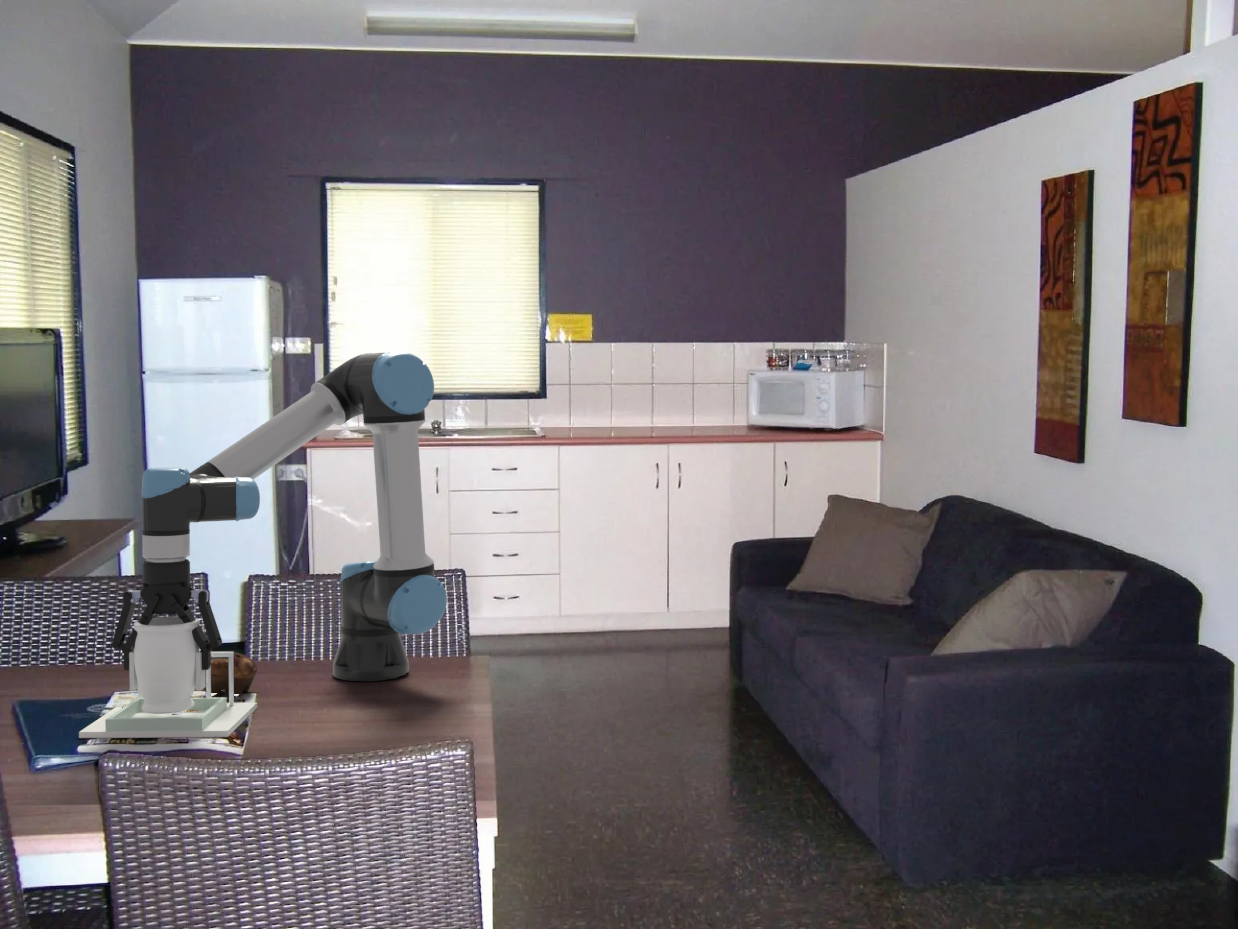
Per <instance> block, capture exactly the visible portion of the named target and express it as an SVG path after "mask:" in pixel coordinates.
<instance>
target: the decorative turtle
mask: <svg viewBox="0 0 1238 929" xmlns="http://www.w3.org/2000/svg"><path fill="white" fill-rule="evenodd" d="M257 671H258V665H257V663H256V661H255V660H254V659H253V658H251V657H249V656H248V655H246V654H243V653H240V652H234V656H233V674H234V694H240V695H242V693H247V692H248V691H249V690H250V688H251V687H252V683H253V681H254V679H255V677H256V673H257ZM203 689H204V690H203V691H204V693H205V692H206V670H205V688H203ZM221 690H223V691H226V692H227V693H229V657H212V658H211V693H217V694H219V693H221V692H222V691H221ZM220 691H221V692H220Z"/></svg>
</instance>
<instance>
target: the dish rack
mask: <svg viewBox="0 0 1238 929" xmlns="http://www.w3.org/2000/svg"><path fill="white" fill-rule="evenodd" d="M234 653H235V651H211V658H214V657H229V692H228V697H227V696H225V697H222V696H221V697H219V696H217V697H215V696H214V697H211V666H210V668H209V669H208V670H206V693H205V697H191V699H192V700H193V701H194V706H193V707H192V708H190V709H188V710H198V711H195V712H194V711H191V712H186V713H175V714H186V715H175V716H174V715H172V714H174V713H168V714H152V713H146V712H144V711H142V709H141V707H142V705H143V703H144V701H145V700H144V699H143V697H142V695H141V693H140V691H139V688H138V689H137V697H136V698H135V699H133V700H132V701H130V702H128V703H129V704H127V705H126V706H124V707H123V708H122V707H117V706H116V707H114V708H113V709H111V710H109V711H108V712H107V713H105V714H104V715H102V716H100V717H99V718H98V719H97V720H95V721H93V722H92V723H90V724H88V725H87V726H86V727H84V728H83V729H81V730H80V731H79V732H78V739H107V738H108V739H118V738H119V739H120V738H121V739H123V738H124V739H125V738H128V739H129V738H133V739H134V738H135V739H137V738H138V739H139V738H140V739H141V738H228V737H229V736H230V735H232V733H233V732H234V731H235V730H237V729H238V727H240V725H242V724H243V723H244V722H245V721H247V719H248V718H249V717H250V716H251V715H252V714H253V713H254V711H256V710H257V709H258V702H235V697H234V674H233V656H234ZM227 700H228V702H227Z"/></svg>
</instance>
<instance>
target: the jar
mask: <svg viewBox="0 0 1238 929" xmlns="http://www.w3.org/2000/svg"><path fill="white" fill-rule="evenodd" d="M195 619H196V620H195V621H193V622H189V623H183V621H182V620H181V619H180V618H179V617H178V616H159V617H153V618H152V619H151V621H150V623H149V624H148V625H143V624H140V623H139V622H138V621H139V620H137V621H135V622H134V623H133V629H135V630H136V631H137V637H136V641H135V648H134V665H135V671H136V675H137V682H138V687H139V691H140V693H141V695H142V698H143V699H144V700H145V701H144V703H143V705H142V707H141V709H142V711H144V712H146V713H152V714H168V713H176V712H181V711H185V710H188V709H190V708H192V707H193V706H194V701H193V700H192V699H191V698H192V695H193V694H194V692H195V691H196V652H198V651H199V650H200V648H199V647H198V645H197V643H196V642H195V640H194V638H193V635H192V630H193V629H194V628H195V627H198V626H199V625H200V619H199V618H197V617H195Z"/></svg>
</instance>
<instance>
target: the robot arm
mask: <svg viewBox="0 0 1238 929" xmlns="http://www.w3.org/2000/svg"><path fill="white" fill-rule="evenodd" d="M434 381H435V380H434V378H433V374H432V371H431V370H430V368H429V367H428V365H427V364H426V362H424V361H423V360H422V359H421V358H419V357H418V356H417V355H415V354H412V353H409V352H404V351H403V352H402V351H395V350H393V351H388V352H375V353H374V352H373V353H370V352H369V353H362V354H358V355H356V356H354V357H352V358H350V359H348V360H346V361H345V362H343V363H342V364H340V365H339V366H337V367H336V368H335V369H332V370H331V371H330V372H329V373H327V374H326V375H325V376H323V377H321V378H320V379H318V380H317V381H315V382H314V383H313V384H312V385H311V387H310V391H309V393H307V394H306V395H304V396H303V397H301V398H299V399H298V400H297V401H295V402H294V403H292V404H291V405H290V406H288V407H286V408H285V409H283V410H282V411H280V412H279V413H277V414H276V415H274V416H272V418H270V419H269V420H267V421H266V422H264V423H263V424H261V425H260V426H259V427H257V428H256V429H254V430H252V431H251V432H250V433H248V434H246V435H245V436H244V437H242V438H240V439H239V440H237V441H236V442H235V443H233V444H232V445H230V446H229V447H227V448H226V449H224V450H223V451H221V452H220V453H218V454H216V455H215V456H213V457H212V458H211V459H210V460H209V459H208V461H206V462H205V463H204V464H201V465H200V466H199V467H197V468H195V469H194V470H192V471H191V472H190V471H189V470H188V468H185V467H153V468H152V467H151V468H147V469H146V470H144V472H143V474H142V478H141V479H142V480H141V494H140V498H141V516H142V519H141V520H142V522H141V523H142V534H141V535H142V540H141V541H142V542H141V543H142V544H141V545H142V558H144V559H146V560H144V561H143V562H142V588H141V589H140V590H134V589H133V588H132V589H129V590H125V591H124V592H123V594H122V599H123V600H122V601H123V606H122V610H121V612H120V616H119V619H118V623H117V626H116V628H115V632H114V635H113V638H112V642H111V647H112V648H113V649H118V650H121V651H122V652H123V670H125V671H129V675H128V676H129V691H130V692H135V691H136V690H138V688H139V687H138V682H137V675H136V671H135V665H134V648H135V641H136V637H137V631H136V630H135V629H134V628H133V629H132V631H131V633H130V635H129V636H128V638H127V639H126V637H127V635H128V631H129V628H130V624H131V621H132V618H133V615H134V611H135V608H136V604H137V603H138V602H139V601H140V598H141V599H142V600H143V603H145V604H146V607H145V609H144V610H143V612H142V614H141V615H140V616H141V617H140V618H139V620H137V621H138V622H139V623H140V624H143V625H148V624H149V623H150V621H151V619H152V618H154V616H158V615H159V616H160V615H164V614H167V615H170V616H171V615H172V616H173V615H177V617H179V618H180V619H181V620H182V621H183V623H189V622H193V621H195V620H196V619H195V618H196V617H195V616H194V614H193V612H192V610H191V608H190V605H189V604H188V603H189V602H190V600H191V599H192V598H193V599H194V602H195V603H196V604H197V605H198V610H199V613H200V616H201V620H202V622H203V624H204V628H205V631H206V633H205V632H204V631H203V628H202V627H201V626H200V624H199V626H198V627H195V628H194V629H193V630H192V635H193V638H194V640H195V642H196V643H197V645H198V647H199V648H200V650H199V651H198V652H196V687H195V691H196V692H197V691H198V692H199V691H202V690H203V689H204V688H205V670H208V669H209V668H210V666H211V660H212V657H211V652H212V650H213V649H216V648H218V647H219V646H221V645H222V644H223V639H222V637H221V634H220V631H219V628H218V627H219V626H218V624H217V621H216V618H215V614H214V612H213V609H212V606H211V603H210V601H211V600H210V599H211V598H210V597H211V595H210V594H211V593H210V589H207V588H206V589H203V590H194V589H193V588H192V586H191V561H190V560H189V559H187V558H189V556H191V555H190V554H191V553H190V552H191V547H190V546H191V545H190V544H191V543H190V542H191V540H190V539H191V537H190V536H191V534H190V532H191V529H190V528H191V527H190V526H191V523H199V522H200V523H201V522H203V523H205V522H225V521H228V522H229V521H230V522H231V521H236V522H238V521H242V520H243V521H244V520H250V519H252V518H254V517H255V516H256V515H257V514H258V511H259V509H260V504H261V503H260V502H261V501H260V500H261V494H260V489H259V486H258V484H257V482H256V481H255V479H257V478H258V477H259V476H262V474H264V473H265V472H266V471H268V470H269V469H271V468H272V467H274V466H276V465H277V464H278V463H279V462H281V461H283V460H284V459H285V458H287V457H288V456H290V455H291V454H293V453H294V452H295V451H297V450H299V449H300V448H301V447H303V446H304V445H305V444H307V443H309V442H310V441H311V440H313V439H314V438H316V437H317V436H318V435H320V434H322V433H323V432H324V431H326V430H327V429H329V428H330V427H331V426H333V425H337V426H342V425H343V424H346V422H348V421H349V420H351V419H353V418H355V417H359V416H361V415H362V416H363V418H362V419H363V425H364V426H365V428H367V429H368V430H369V431H370V432H371V434H372V444H373V445H372V446H373V447H372V448H373V460H374V461H373V462H374V476H375V477H374V478H375V491H376V493H375V494H376V506H377V509H376V510H377V521H378V537H379V549H380V550H379V551H380V552H379V553H380V557H379V558H378V559H377V560H373V561H372V560H370V561H361V562H359V561H358V562H351V563H349V562H348V563H346V564H343V566H342V568H341V575H340V580H339V584H340V605H341V606H340V611H341V613H340V615H341V616H340V617H341V620H340V621H341V622H340V623H341V626H340V627H341V639H340V641H339V644H338V648H337V650H336V653H335V656H334V659H333V663H332V676H333V677H334V678H336V679H339V680H343V681H350V682H379V681H381V682H382V681H387V680H388V679H389V680H393V679H394V680H395V679H398V678H397V677H399V676H401V675H404V674H406V673H407V672H408V671H409V670H410V668H409V666H410V664H409V663H410V662H409V659H408V655H407V652H406V650H405V647H404V643H403V640H402V637H401V634H403V635H421V634H424V633H427V632H429V631H430V630H432V629H433V628H434V627H436V626H437V624H438V623H439V621H440V620H441V619H442V618H443V616H444V613H445V611H446V609H447V605H448V603H447V602H448V596H447V592H446V589H445V587H444V585H443V583H441V581H440V580H439V579H438V578H437V577H435V576H436V575H435V574H436V573H435V561H434V560H433V559H432V558H431V556H429V555H428V554H427V552H426V542H425V541H426V540H425V526H424V511H423V510H424V509H423V494H422V476H421V462H420V447H419V446H420V444H419V429H420V428H421V427H422V425H423V424H424V423H425V422H426V416H425V415H426V413H425V412H426V411H425V410H426V408H427V407H428V406H429V403H430V402H431V401H432V399H433V396H434V392H435V382H434ZM206 634H207V635H206ZM409 672H410V671H409ZM406 675H407V674H406ZM404 676H405V675H404ZM399 678H400V677H399Z"/></svg>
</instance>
